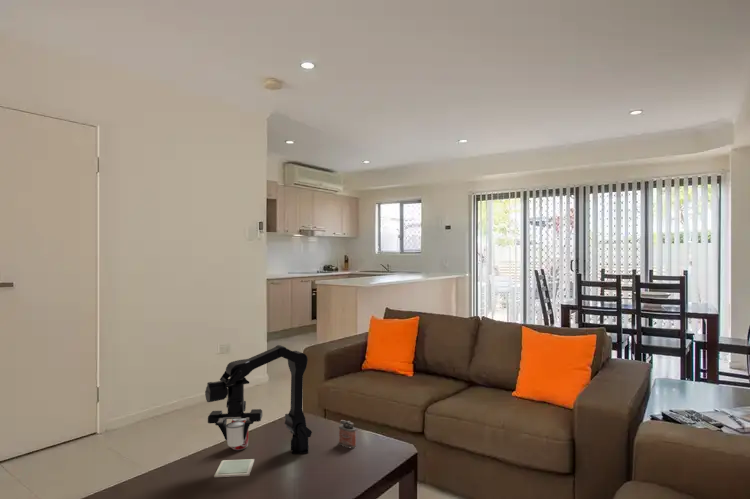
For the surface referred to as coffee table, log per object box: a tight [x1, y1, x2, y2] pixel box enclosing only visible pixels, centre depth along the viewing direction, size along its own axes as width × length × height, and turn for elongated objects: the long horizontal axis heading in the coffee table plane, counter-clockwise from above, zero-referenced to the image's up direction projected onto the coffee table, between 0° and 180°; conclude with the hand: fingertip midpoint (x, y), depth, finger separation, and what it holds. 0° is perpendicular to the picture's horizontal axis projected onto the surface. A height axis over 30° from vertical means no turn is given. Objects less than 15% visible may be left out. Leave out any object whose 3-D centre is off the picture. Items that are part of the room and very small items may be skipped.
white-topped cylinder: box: [226, 421, 245, 448], centre depth 168 cm, size 7×7×7 cm
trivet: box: [213, 458, 255, 478], centre depth 168 cm, size 12×12×1 cm
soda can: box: [230, 418, 249, 451], centre depth 186 cm, size 7×7×12 cm
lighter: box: [338, 419, 357, 449], centre depth 189 cm, size 8×3×10 cm, turn 58°
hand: (235, 439), depth 168 cm, fingers closed on white-topped cylinder, 6 cm apart
